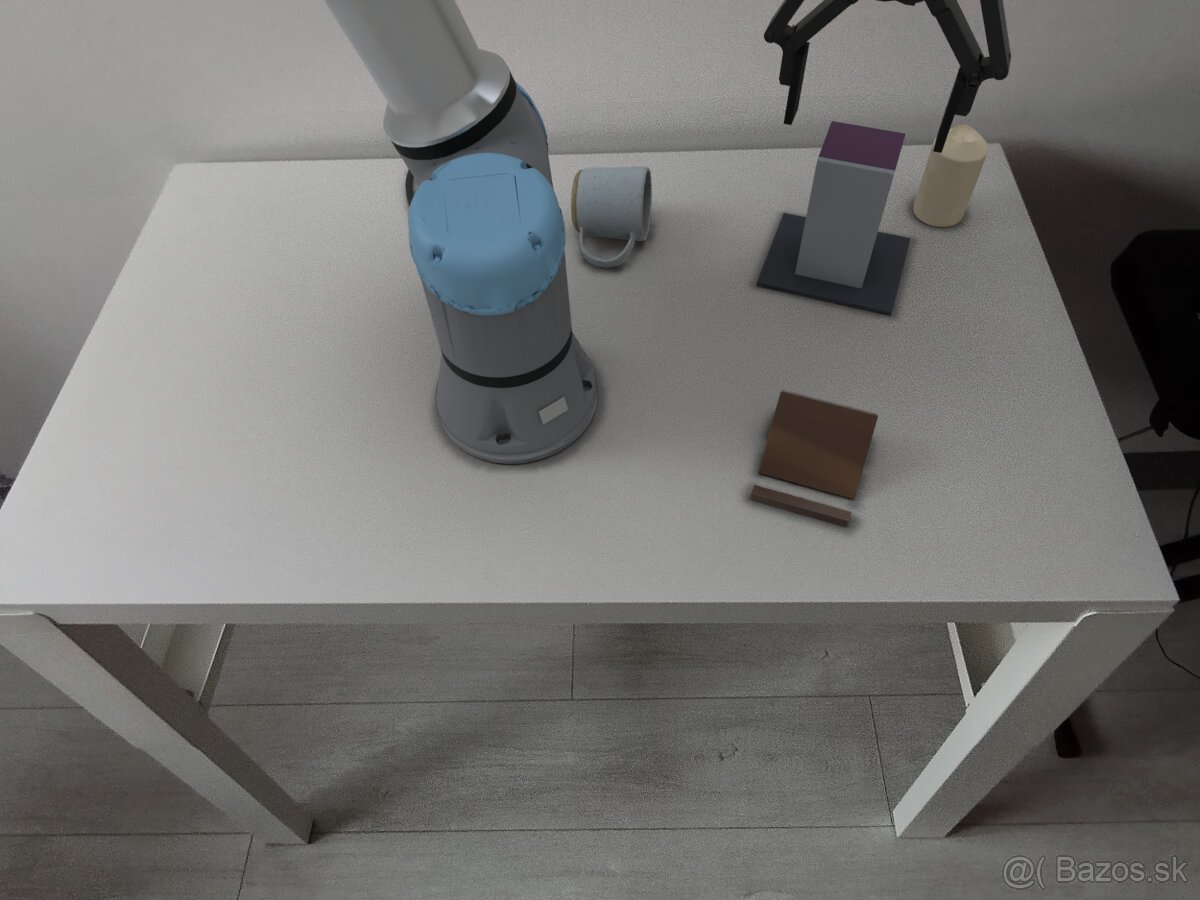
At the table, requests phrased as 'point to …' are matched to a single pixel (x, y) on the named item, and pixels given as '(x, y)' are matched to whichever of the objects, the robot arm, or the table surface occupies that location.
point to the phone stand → (815, 453)
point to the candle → (950, 177)
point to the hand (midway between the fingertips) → (863, 130)
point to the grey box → (847, 202)
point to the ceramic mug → (612, 207)
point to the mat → (870, 297)
